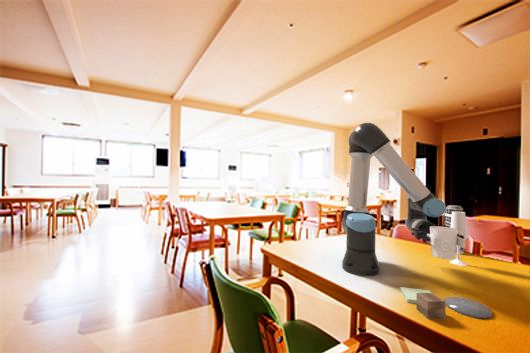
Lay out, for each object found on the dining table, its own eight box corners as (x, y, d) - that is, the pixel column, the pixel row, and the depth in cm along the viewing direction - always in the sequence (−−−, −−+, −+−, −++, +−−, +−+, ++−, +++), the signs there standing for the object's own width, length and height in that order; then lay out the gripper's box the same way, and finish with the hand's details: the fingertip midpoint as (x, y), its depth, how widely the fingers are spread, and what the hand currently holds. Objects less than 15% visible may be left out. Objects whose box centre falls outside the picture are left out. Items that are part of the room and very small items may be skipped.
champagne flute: (467, 267, 108) (467, 213, 108) (448, 263, 112) (448, 212, 112) (468, 263, 113) (468, 212, 113) (450, 259, 117) (450, 210, 117)
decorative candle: (439, 248, 137) (439, 204, 137) (457, 249, 135) (457, 205, 136) (449, 253, 128) (449, 206, 128) (468, 254, 126) (468, 206, 127)
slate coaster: (454, 314, 69) (454, 312, 69) (438, 296, 80) (438, 294, 80) (501, 321, 66) (501, 318, 66) (478, 301, 77) (478, 299, 77)
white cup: (462, 261, 80) (462, 231, 80) (436, 259, 82) (436, 230, 82) (449, 254, 88) (449, 226, 88) (425, 252, 90) (425, 225, 90)
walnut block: (427, 319, 67) (427, 301, 67) (416, 309, 72) (416, 292, 72) (445, 319, 67) (445, 301, 67) (433, 309, 72) (433, 293, 72)
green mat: (407, 302, 76) (407, 299, 76) (400, 289, 85) (400, 286, 85) (440, 306, 74) (440, 303, 74) (429, 293, 82) (429, 290, 82)
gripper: (452, 240, 99) (486, 257, 77) (397, 236, 105) (414, 251, 83) (452, 222, 100) (486, 234, 78) (398, 219, 105) (415, 229, 83)
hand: (449, 242), depth 80 cm, fingers closed on white cup, 7 cm apart
